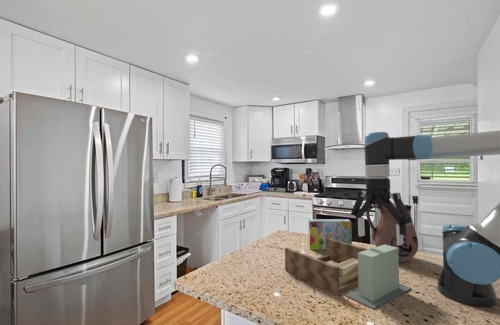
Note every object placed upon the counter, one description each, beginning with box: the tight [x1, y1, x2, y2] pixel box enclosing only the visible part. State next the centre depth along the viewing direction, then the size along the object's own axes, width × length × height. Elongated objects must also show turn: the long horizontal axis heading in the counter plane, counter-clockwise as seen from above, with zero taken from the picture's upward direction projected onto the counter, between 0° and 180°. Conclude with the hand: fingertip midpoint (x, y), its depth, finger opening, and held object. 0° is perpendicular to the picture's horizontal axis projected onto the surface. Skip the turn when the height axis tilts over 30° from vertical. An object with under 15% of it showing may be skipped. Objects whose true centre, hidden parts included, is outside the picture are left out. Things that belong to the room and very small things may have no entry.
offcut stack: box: [334, 258, 358, 287], centre depth 100 cm, size 5×16×6 cm, turn 123°
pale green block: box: [357, 244, 400, 301], centre depth 89 cm, size 5×16×14 cm, turn 123°
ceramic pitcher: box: [365, 202, 419, 262], centre depth 122 cm, size 18×21×25 cm
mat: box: [344, 283, 412, 310], centre depth 89 cm, size 10×23×1 cm, turn 123°
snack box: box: [307, 218, 353, 251], centre depth 137 cm, size 21×6×15 cm, turn 84°
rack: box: [284, 238, 369, 296], centre depth 106 cm, size 26×27×9 cm
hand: (379, 240), depth 89 cm, fingers open, 13 cm apart
